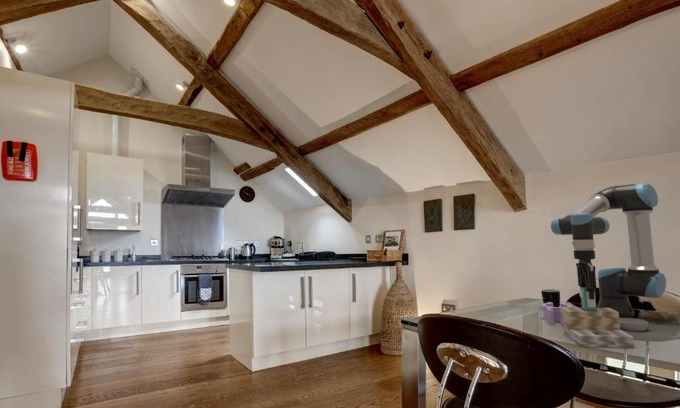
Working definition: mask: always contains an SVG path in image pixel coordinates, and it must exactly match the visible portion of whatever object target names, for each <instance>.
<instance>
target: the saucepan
mask: <svg viewBox="0 0 680 408" xmlns="http://www.w3.org/2000/svg"><path fill="white" fill-rule="evenodd" d="M619 323H620V329H621V330H625V331H631V332H646V331H647V330H648V327H649V325H650V324H649V321H648V320H645V319H640V318H633V317H628V318H619ZM645 330H646V331H645Z"/></svg>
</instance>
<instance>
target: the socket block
mask: <svg viewBox="0 0 680 408" xmlns="http://www.w3.org/2000/svg"><path fill="white" fill-rule="evenodd" d="M596 309H597V311H583V310H582V307H571V308H562V313H563V325H564V326H563V334H564V335H566V336H567V337H568V338H569V339H570V340H572V342H574V343H576V345H577V346H579V347H583V348H584V347H585V348H586V347H587V348H618V349H621V348H622V349H635V340H634V336H633V335H631V334H629V333H627V332H625V331H623V330H622V329H621V327H620V323H619V312H617V311H615V310H613V309H611V308H597V307H596Z"/></svg>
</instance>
